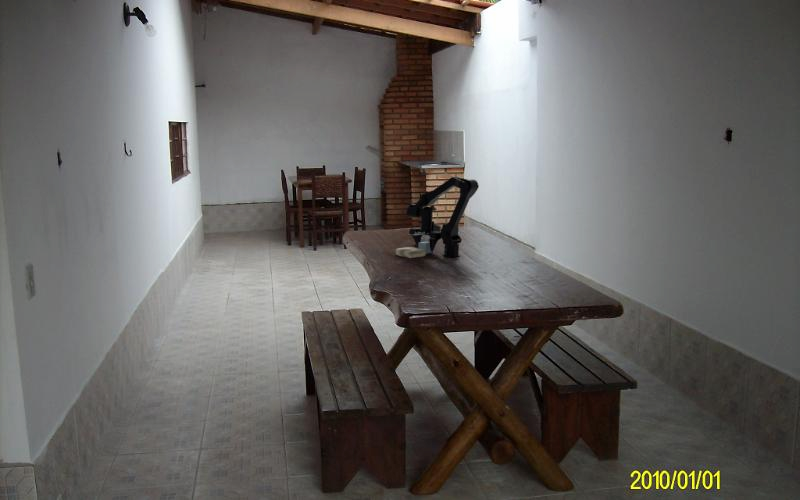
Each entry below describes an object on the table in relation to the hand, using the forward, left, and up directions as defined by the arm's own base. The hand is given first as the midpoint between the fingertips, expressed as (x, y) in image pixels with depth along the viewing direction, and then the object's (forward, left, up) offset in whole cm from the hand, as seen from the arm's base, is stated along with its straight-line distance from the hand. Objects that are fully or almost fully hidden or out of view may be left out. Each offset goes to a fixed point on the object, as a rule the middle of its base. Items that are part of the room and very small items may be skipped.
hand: (425, 250), depth 361 cm
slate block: (0, 0, -1) cm, 1 cm away
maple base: (-2, +12, -1) cm, 12 cm away
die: (+17, -15, -1) cm, 23 cm away
